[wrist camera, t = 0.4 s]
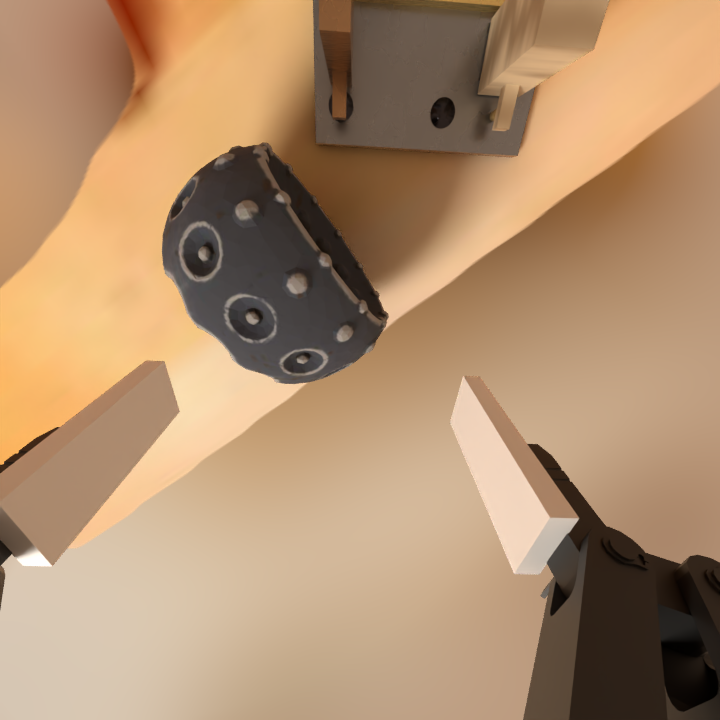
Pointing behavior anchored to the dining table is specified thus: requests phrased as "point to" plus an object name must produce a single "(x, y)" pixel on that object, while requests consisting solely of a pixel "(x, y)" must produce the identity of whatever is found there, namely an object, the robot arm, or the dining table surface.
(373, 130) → the grey board with posts
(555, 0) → the block
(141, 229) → the dining table surface
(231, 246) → the dark studded bowl
